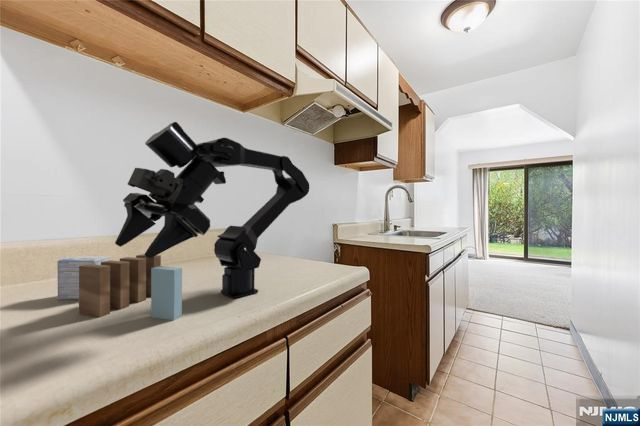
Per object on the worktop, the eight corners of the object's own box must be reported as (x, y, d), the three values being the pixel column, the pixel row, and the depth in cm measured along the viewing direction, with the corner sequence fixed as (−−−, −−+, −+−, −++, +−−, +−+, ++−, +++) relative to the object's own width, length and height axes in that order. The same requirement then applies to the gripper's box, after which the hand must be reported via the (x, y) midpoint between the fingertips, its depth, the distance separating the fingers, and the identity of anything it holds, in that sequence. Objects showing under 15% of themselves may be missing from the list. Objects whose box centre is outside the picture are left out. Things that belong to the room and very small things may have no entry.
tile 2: (142, 292, 61) (143, 254, 61) (160, 294, 60) (160, 255, 60) (135, 294, 59) (136, 255, 59) (153, 296, 58) (154, 256, 58)
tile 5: (89, 310, 50) (89, 264, 50) (110, 313, 49) (110, 265, 49) (79, 314, 48) (79, 266, 48) (99, 317, 47) (99, 267, 47)
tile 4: (109, 303, 54) (110, 260, 53) (129, 306, 52) (129, 261, 52) (100, 306, 52) (100, 262, 52) (120, 309, 51) (120, 263, 51)
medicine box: (110, 293, 60) (110, 256, 60) (94, 300, 55) (94, 259, 55) (75, 293, 60) (75, 255, 60) (56, 300, 55) (56, 259, 55)
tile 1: (159, 313, 49) (159, 266, 49) (181, 316, 48) (182, 267, 48) (151, 317, 47) (151, 268, 47) (174, 320, 46) (174, 270, 46)
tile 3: (127, 297, 57) (127, 257, 57) (145, 299, 56) (146, 258, 56) (119, 300, 56) (119, 258, 55) (138, 302, 54) (138, 260, 54)
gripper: (132, 151, 50) (60, 213, 42) (195, 155, 42) (119, 234, 34) (172, 190, 58) (118, 248, 51) (232, 200, 50) (178, 272, 42)
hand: (131, 250), depth 44 cm, fingers open, 9 cm apart
